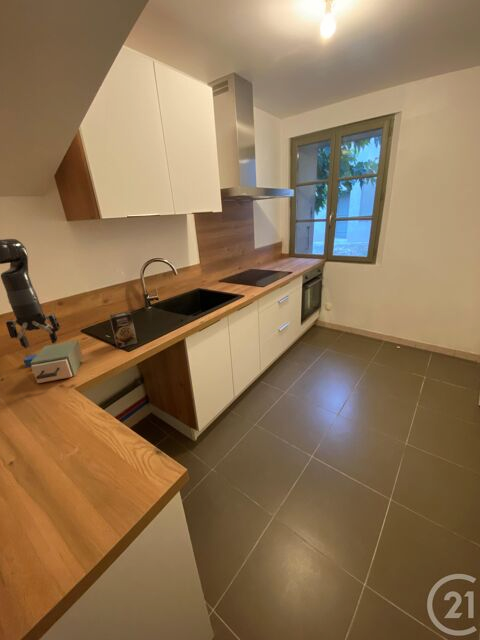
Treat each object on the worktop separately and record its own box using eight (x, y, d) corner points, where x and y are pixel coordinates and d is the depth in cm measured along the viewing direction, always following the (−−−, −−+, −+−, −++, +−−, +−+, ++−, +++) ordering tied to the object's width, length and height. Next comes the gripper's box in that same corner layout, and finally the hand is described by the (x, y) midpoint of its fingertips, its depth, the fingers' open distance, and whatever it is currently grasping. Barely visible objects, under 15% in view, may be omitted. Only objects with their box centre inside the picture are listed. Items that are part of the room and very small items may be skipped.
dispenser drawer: (67, 383, 97) (61, 366, 94) (32, 390, 94) (25, 373, 91) (80, 360, 113) (75, 345, 111) (50, 365, 110) (44, 350, 108)
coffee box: (118, 350, 122) (110, 318, 116) (116, 345, 127) (108, 314, 121) (138, 345, 126) (131, 313, 121) (135, 340, 132) (128, 310, 126)
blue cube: (27, 369, 110) (23, 360, 109) (31, 364, 114) (27, 355, 113) (39, 367, 111) (35, 358, 110) (42, 362, 115) (39, 353, 114)
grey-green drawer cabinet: (75, 376, 103) (68, 356, 100) (38, 383, 100) (30, 362, 97) (83, 359, 116) (77, 340, 113) (51, 364, 113) (44, 346, 110)
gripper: (52, 295, 93) (66, 336, 99) (4, 301, 89) (22, 344, 95) (44, 301, 86) (60, 345, 92) (-7, 307, 82) (12, 353, 88)
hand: (40, 344), depth 93 cm, fingers open, 8 cm apart
